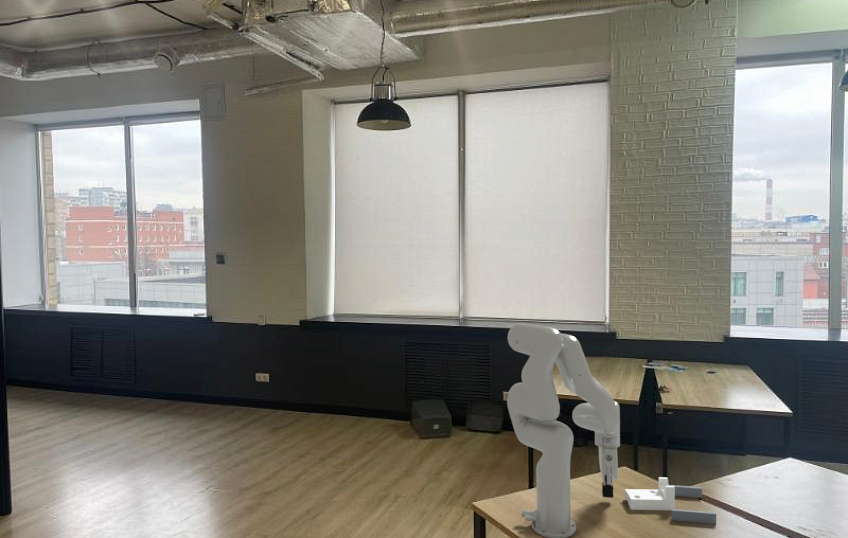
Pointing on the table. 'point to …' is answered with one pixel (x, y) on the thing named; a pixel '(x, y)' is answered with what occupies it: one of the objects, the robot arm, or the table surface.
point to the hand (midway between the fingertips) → (607, 496)
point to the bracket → (652, 497)
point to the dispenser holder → (689, 514)
